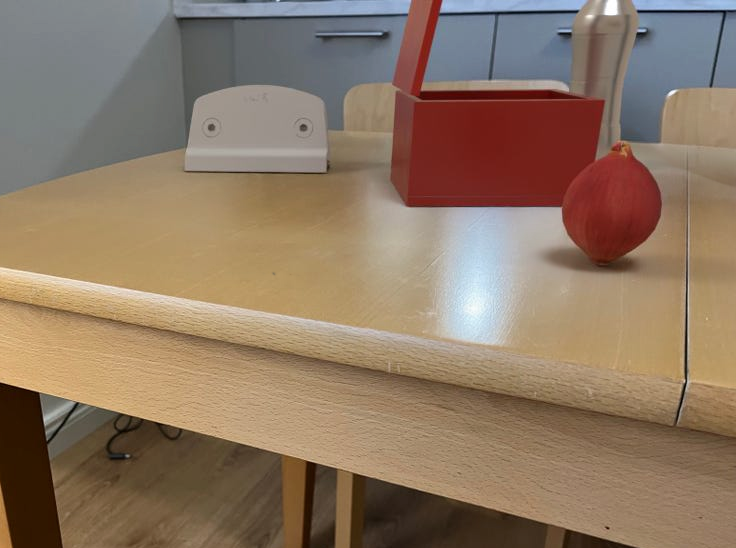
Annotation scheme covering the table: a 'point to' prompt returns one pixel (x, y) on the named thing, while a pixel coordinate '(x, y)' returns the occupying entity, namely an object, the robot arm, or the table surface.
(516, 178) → the open red box
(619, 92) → the silver metal bottle
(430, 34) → the box door
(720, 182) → the table surface
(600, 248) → the onion
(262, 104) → the white curved plastic bracket
